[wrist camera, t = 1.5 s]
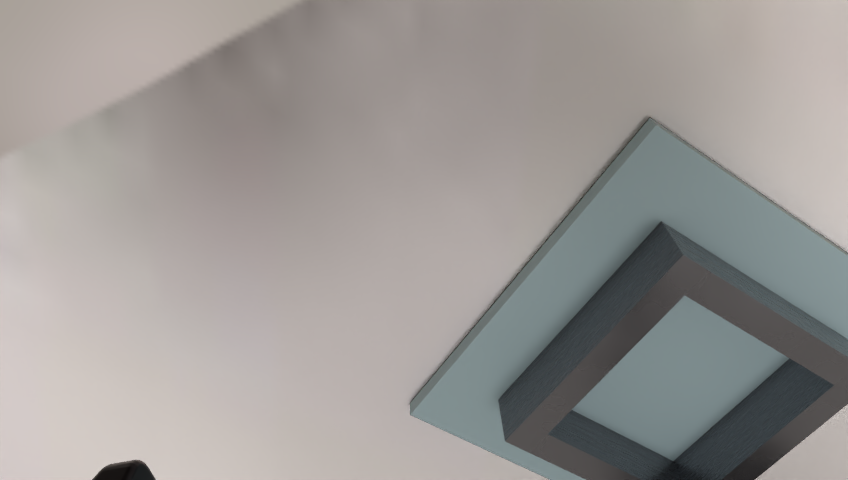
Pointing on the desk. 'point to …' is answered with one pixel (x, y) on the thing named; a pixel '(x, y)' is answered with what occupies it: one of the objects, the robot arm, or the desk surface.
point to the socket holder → (656, 332)
